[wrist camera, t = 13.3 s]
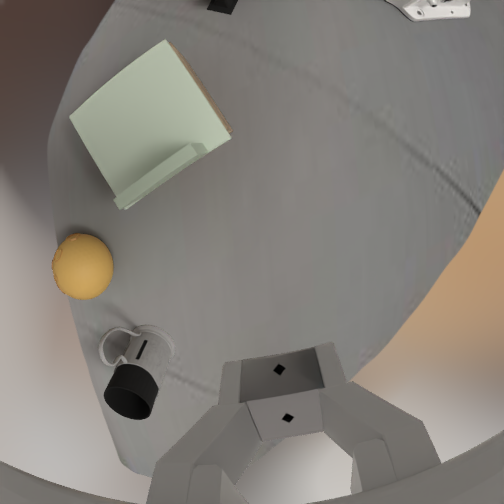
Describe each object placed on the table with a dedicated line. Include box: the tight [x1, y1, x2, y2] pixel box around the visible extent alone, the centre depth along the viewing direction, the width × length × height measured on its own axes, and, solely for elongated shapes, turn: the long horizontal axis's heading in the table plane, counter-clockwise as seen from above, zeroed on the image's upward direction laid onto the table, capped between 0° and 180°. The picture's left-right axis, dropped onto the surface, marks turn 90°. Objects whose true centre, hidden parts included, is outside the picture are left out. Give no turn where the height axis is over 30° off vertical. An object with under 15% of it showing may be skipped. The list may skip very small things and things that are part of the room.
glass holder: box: [98, 325, 175, 420], centre depth 43 cm, size 9×14×15 cm, turn 15°
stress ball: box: [52, 233, 113, 300], centre depth 40 cm, size 10×10×10 cm
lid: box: [69, 39, 232, 210], centre depth 27 cm, size 15×14×7 cm
